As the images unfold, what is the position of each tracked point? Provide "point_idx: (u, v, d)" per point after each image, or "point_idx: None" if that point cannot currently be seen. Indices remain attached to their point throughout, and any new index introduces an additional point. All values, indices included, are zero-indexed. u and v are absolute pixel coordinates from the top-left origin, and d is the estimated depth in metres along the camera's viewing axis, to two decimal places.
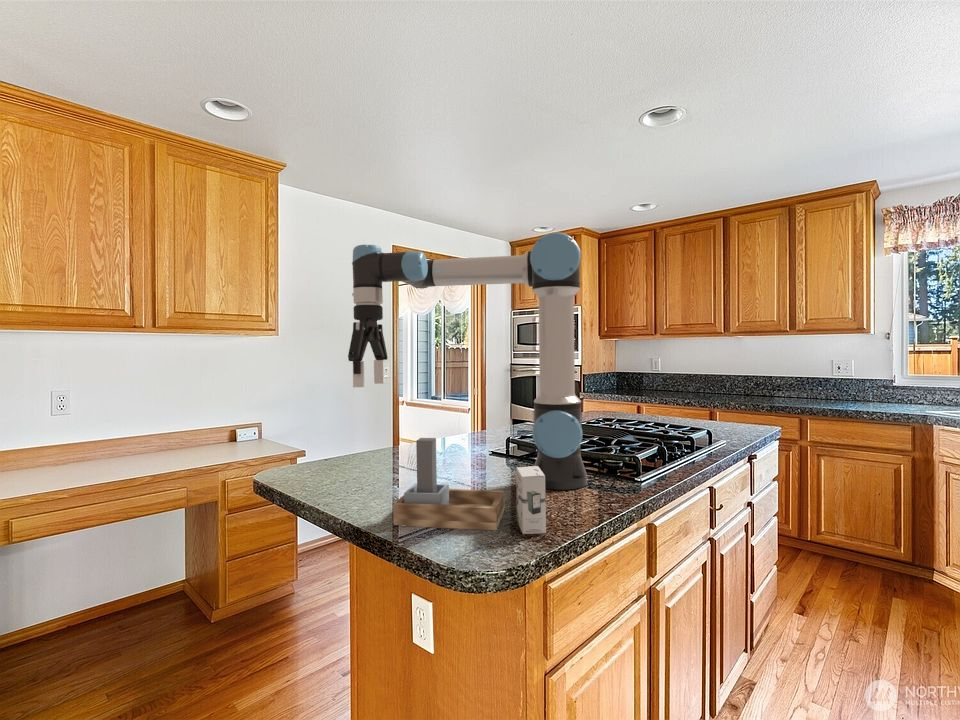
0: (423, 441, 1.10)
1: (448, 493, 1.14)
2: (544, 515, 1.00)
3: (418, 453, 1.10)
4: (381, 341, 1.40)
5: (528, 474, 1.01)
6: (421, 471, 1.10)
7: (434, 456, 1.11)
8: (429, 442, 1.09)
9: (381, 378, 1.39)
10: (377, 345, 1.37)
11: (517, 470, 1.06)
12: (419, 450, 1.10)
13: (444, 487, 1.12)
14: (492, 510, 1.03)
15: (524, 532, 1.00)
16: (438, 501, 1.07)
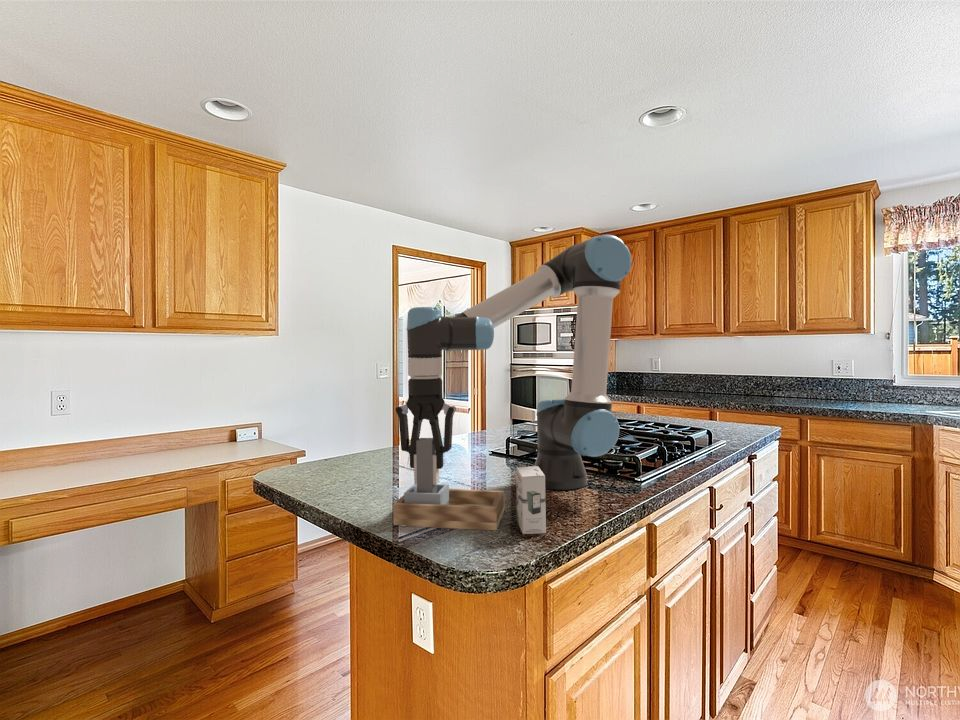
0: (423, 441, 1.10)
1: (448, 493, 1.14)
2: (544, 515, 1.00)
3: (418, 453, 1.10)
4: None
5: (528, 474, 1.01)
6: (421, 471, 1.10)
7: None
8: (429, 442, 1.09)
9: None
10: None
11: (517, 470, 1.06)
12: (419, 450, 1.10)
13: (444, 487, 1.12)
14: (492, 510, 1.03)
15: (524, 532, 1.00)
16: (438, 501, 1.07)
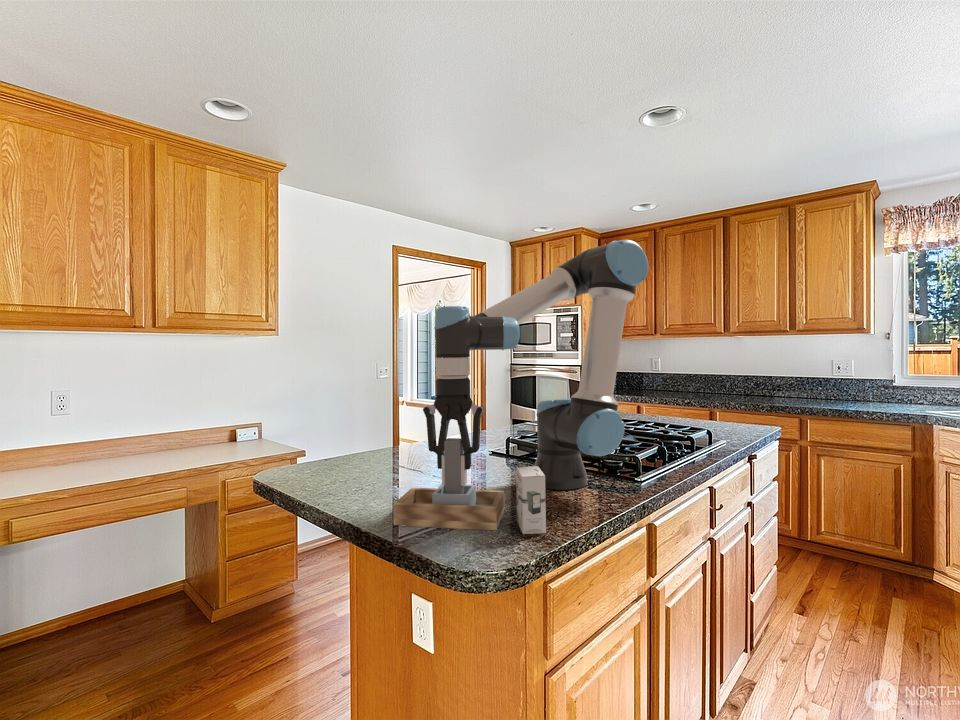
0: (451, 441, 1.09)
1: (475, 494, 1.13)
2: (544, 515, 1.00)
3: (446, 454, 1.09)
4: None
5: (528, 474, 1.01)
6: (449, 472, 1.09)
7: None
8: (457, 442, 1.08)
9: None
10: None
11: (517, 470, 1.06)
12: (447, 451, 1.09)
13: (472, 488, 1.11)
14: (492, 510, 1.03)
15: (524, 532, 1.00)
16: (467, 502, 1.06)
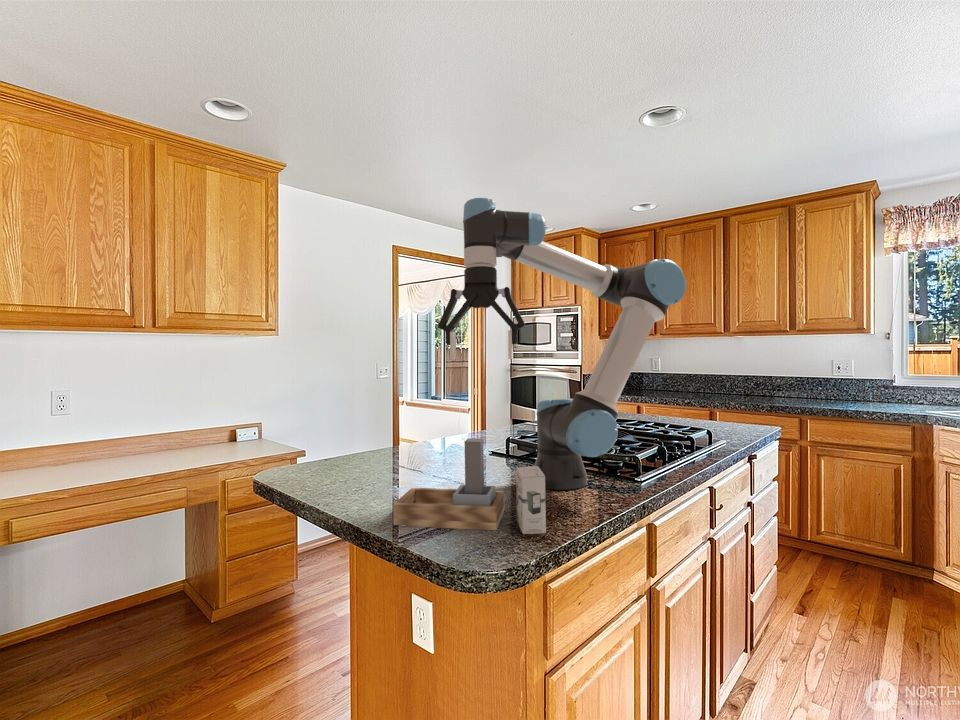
0: (471, 442, 1.08)
1: (495, 495, 1.13)
2: (544, 515, 1.00)
3: (466, 454, 1.08)
4: (510, 307, 1.15)
5: (528, 474, 1.01)
6: (469, 472, 1.08)
7: (482, 457, 1.10)
8: (478, 443, 1.08)
9: None
10: (498, 313, 1.15)
11: (517, 470, 1.06)
12: (467, 451, 1.08)
13: (492, 489, 1.10)
14: (492, 510, 1.03)
15: (524, 532, 1.00)
16: (488, 503, 1.05)
